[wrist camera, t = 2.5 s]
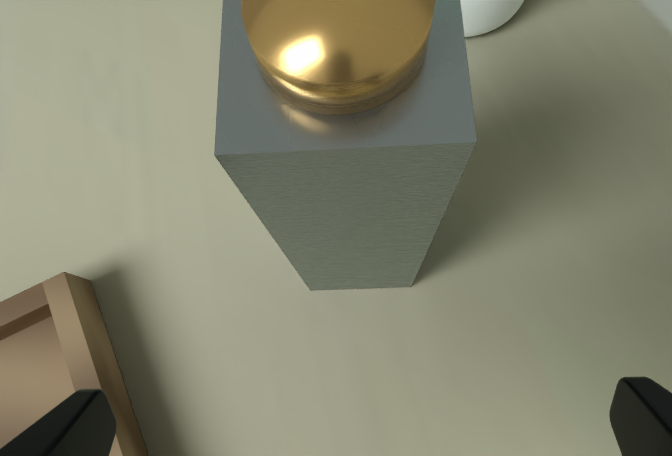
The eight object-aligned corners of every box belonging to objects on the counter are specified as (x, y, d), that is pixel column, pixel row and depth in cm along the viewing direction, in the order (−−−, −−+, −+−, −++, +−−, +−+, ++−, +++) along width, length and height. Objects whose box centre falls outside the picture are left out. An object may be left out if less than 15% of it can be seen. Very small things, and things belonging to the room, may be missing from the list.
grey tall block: (411, 286, 22) (490, 110, 7) (310, 290, 22) (194, 126, 7) (404, 192, 23) (461, -116, 9) (309, 196, 23) (210, -96, 9)
